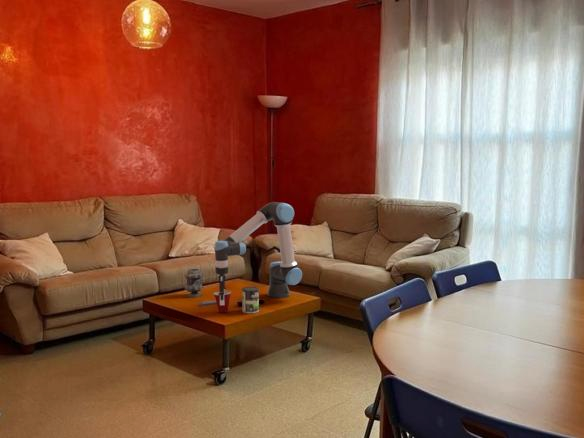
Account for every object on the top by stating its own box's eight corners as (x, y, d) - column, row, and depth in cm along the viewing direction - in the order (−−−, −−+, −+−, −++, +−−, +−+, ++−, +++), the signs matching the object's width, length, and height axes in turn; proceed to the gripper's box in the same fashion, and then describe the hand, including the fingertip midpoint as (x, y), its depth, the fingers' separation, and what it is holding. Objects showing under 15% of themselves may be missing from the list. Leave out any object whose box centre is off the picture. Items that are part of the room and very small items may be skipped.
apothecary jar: (204, 293, 379) (203, 267, 377) (202, 297, 367) (201, 271, 365) (186, 293, 378) (186, 267, 376) (183, 298, 366) (183, 271, 364)
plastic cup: (225, 307, 341) (224, 288, 340) (235, 311, 333) (234, 292, 332) (210, 311, 334) (209, 291, 333) (220, 314, 326) (219, 295, 325)
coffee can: (262, 310, 337) (262, 288, 335) (251, 314, 329) (251, 291, 327) (249, 307, 343) (249, 285, 341) (238, 311, 335) (238, 288, 333)
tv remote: (221, 302, 357) (221, 299, 357) (223, 304, 353) (223, 301, 353) (198, 305, 350) (198, 302, 350) (200, 307, 346) (200, 303, 346)
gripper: (216, 263, 341) (217, 297, 344) (214, 271, 318) (215, 308, 321) (228, 262, 342) (229, 297, 345) (227, 270, 319) (228, 307, 322)
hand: (222, 302), depth 333 cm, fingers closed on plastic cup, 11 cm apart
